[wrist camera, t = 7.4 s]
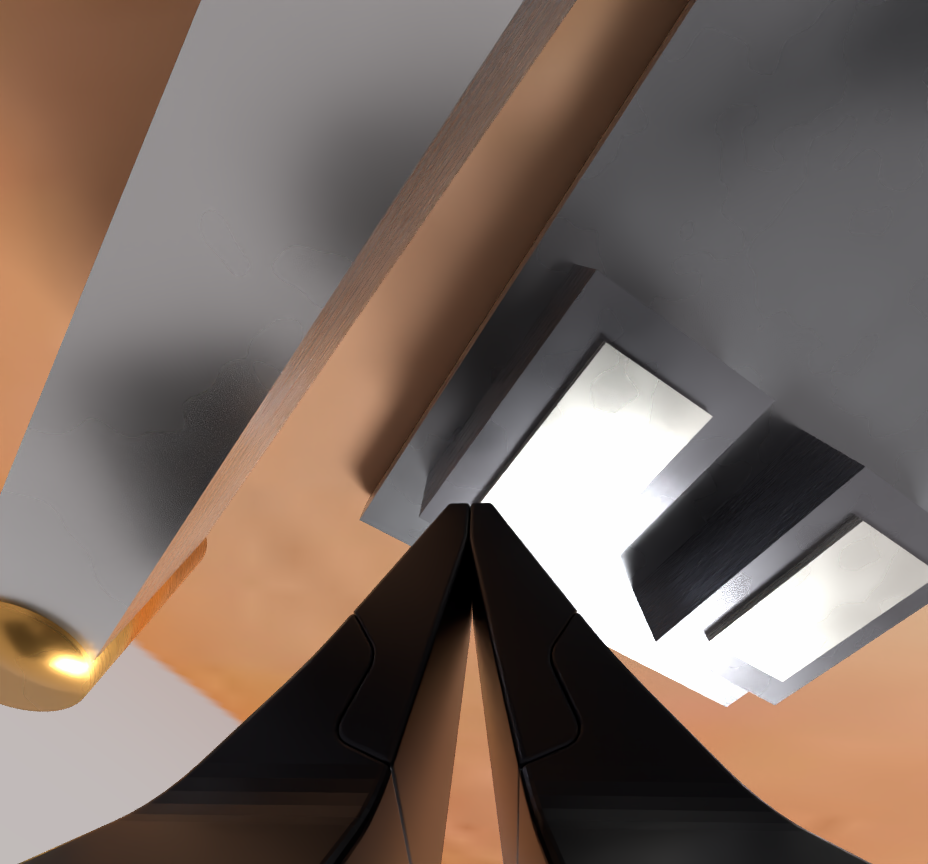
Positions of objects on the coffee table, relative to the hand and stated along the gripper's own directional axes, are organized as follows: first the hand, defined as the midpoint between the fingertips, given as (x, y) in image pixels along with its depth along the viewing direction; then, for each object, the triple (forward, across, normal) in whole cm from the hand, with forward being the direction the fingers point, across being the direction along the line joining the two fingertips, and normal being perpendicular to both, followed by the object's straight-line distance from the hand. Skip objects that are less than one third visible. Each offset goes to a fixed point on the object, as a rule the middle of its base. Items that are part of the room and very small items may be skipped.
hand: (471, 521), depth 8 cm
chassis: (+5, -8, 0) cm, 9 cm away
